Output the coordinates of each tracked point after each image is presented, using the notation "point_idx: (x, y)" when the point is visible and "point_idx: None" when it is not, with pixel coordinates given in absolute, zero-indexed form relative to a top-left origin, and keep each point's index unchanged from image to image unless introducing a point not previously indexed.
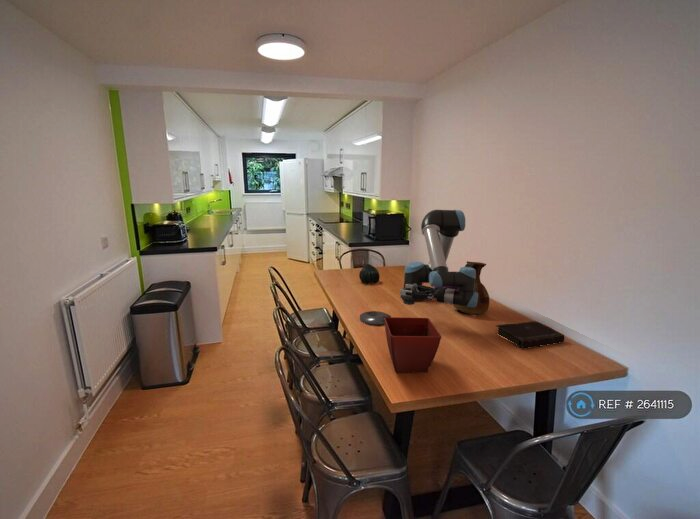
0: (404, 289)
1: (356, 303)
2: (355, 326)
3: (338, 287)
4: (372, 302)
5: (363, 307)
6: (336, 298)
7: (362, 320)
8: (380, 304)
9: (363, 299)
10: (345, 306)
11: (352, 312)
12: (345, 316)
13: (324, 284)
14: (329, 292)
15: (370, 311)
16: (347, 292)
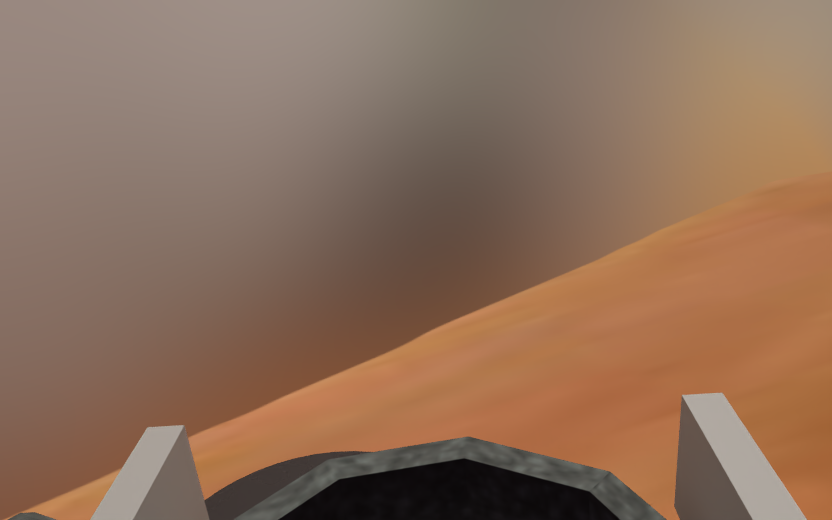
0: (543, 500)
1: (625, 356)
2: None
3: (809, 216)
4: (767, 419)
5: (578, 414)
6: (612, 269)
7: None
8: (793, 485)
9: (760, 355)
10: (507, 337)
11: (413, 401)
12: (306, 399)
13: (773, 181)
14: (677, 225)
15: None
16: (782, 262)
